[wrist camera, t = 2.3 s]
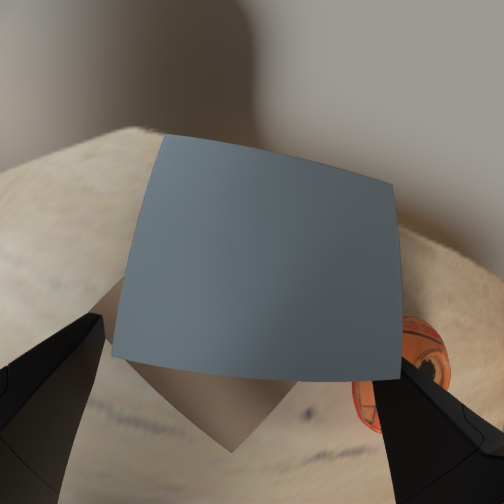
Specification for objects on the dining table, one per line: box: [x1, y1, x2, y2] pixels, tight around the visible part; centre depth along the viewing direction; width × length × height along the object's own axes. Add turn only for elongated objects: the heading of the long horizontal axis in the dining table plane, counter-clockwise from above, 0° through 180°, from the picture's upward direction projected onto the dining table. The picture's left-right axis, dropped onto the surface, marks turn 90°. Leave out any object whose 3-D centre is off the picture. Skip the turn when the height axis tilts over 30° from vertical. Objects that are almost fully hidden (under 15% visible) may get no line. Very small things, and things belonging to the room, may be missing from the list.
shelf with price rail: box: [89, 277, 298, 453], centre depth 16 cm, size 11×12×4 cm
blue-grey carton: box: [111, 134, 403, 382], centre depth 12 cm, size 5×6×12 cm
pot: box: [352, 316, 451, 434], centre depth 16 cm, size 8×8×7 cm
